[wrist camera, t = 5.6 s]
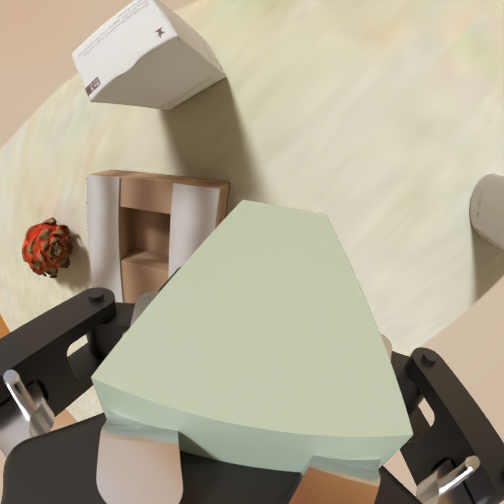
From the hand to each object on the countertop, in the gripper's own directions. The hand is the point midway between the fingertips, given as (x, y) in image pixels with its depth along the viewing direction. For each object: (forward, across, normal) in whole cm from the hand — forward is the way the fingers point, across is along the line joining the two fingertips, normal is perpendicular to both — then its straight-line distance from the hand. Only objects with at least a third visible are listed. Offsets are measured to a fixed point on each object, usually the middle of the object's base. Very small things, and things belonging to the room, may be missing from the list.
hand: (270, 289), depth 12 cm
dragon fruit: (+21, +33, +11) cm, 41 cm away
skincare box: (+21, +13, -13) cm, 28 cm away
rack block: (+20, +14, +12) cm, 28 cm away
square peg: (+5, 0, 0) cm, 5 cm away
